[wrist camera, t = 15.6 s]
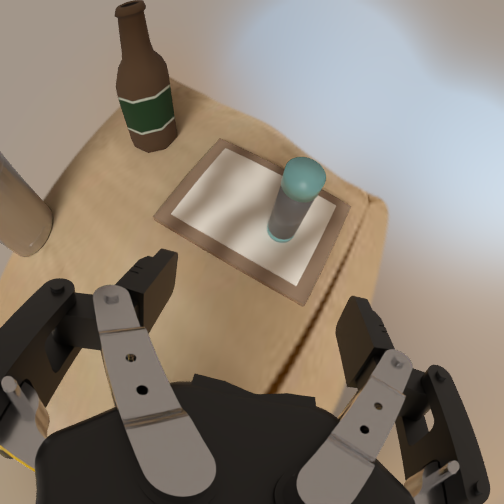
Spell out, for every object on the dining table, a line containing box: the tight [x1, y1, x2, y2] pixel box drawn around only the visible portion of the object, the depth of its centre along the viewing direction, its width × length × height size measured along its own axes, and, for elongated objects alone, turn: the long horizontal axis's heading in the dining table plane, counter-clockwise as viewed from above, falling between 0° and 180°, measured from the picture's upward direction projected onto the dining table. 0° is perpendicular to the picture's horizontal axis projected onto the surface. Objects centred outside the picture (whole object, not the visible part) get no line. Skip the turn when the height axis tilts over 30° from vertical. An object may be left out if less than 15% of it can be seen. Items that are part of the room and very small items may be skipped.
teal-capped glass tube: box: [267, 157, 326, 243], centre depth 30 cm, size 4×4×12 cm
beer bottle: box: [115, 0, 177, 153], centre depth 29 cm, size 8×8×24 cm
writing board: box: [153, 139, 351, 306], centre depth 37 cm, size 22×16×1 cm
